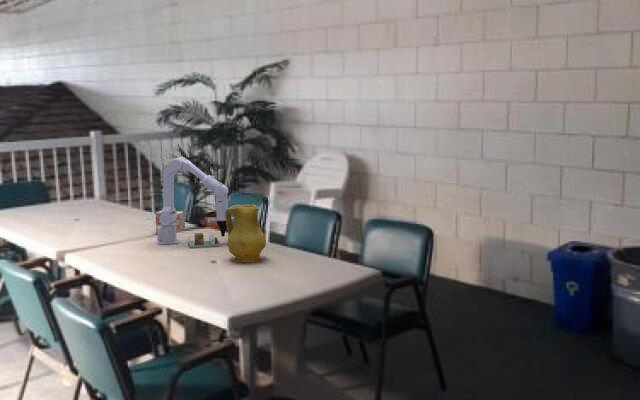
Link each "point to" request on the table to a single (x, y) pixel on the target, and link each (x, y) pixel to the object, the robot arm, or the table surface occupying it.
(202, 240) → the walnut block
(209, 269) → the table surface
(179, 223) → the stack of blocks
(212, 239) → the sliding jaw
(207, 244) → the vise base
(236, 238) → the pitcher
